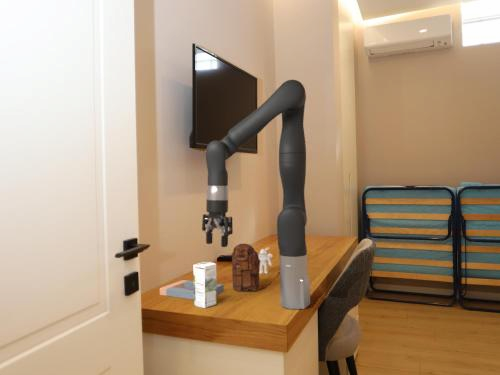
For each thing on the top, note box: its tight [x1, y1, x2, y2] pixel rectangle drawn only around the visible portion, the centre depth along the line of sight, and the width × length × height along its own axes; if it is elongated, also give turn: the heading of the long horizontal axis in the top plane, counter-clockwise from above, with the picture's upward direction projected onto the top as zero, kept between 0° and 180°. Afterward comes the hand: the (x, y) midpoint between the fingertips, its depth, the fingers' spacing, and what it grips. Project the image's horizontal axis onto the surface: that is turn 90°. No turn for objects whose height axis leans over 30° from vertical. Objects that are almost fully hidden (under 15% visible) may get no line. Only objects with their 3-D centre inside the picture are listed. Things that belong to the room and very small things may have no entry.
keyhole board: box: [159, 279, 224, 300], centre depth 152 cm, size 20×14×2 cm
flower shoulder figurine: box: [258, 247, 274, 275], centre depth 182 cm, size 9×4×12 cm, turn 74°
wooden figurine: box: [231, 243, 260, 292], centre depth 155 cm, size 12×6×18 cm, turn 73°
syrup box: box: [192, 261, 218, 309], centre depth 136 cm, size 6×6×14 cm
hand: (216, 245), depth 137 cm, fingers open, 8 cm apart
